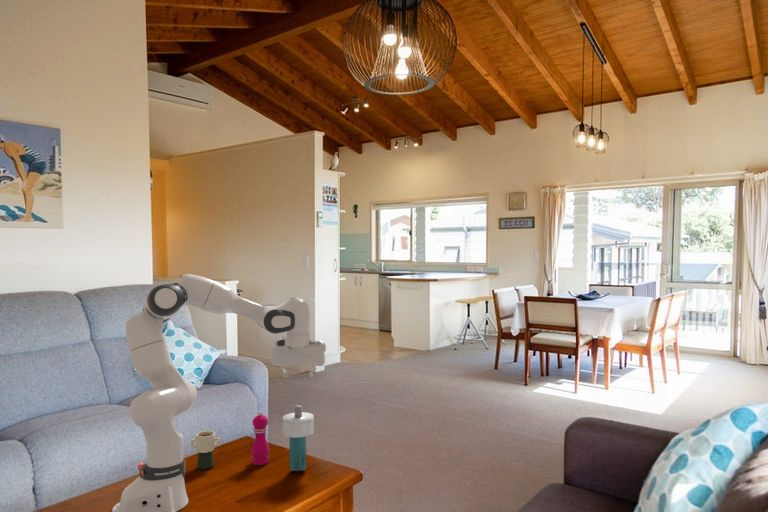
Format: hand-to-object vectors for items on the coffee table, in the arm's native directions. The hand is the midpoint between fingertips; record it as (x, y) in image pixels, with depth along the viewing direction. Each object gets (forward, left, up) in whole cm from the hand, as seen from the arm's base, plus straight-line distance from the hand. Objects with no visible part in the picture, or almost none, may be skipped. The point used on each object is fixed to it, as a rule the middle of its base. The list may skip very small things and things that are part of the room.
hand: (298, 377), depth 196 cm
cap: (0, 0, -21) cm, 21 cm away
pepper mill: (-10, +16, -36) cm, 40 cm away
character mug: (-30, +21, -36) cm, 51 cm away
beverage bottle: (0, 0, -36) cm, 36 cm away
